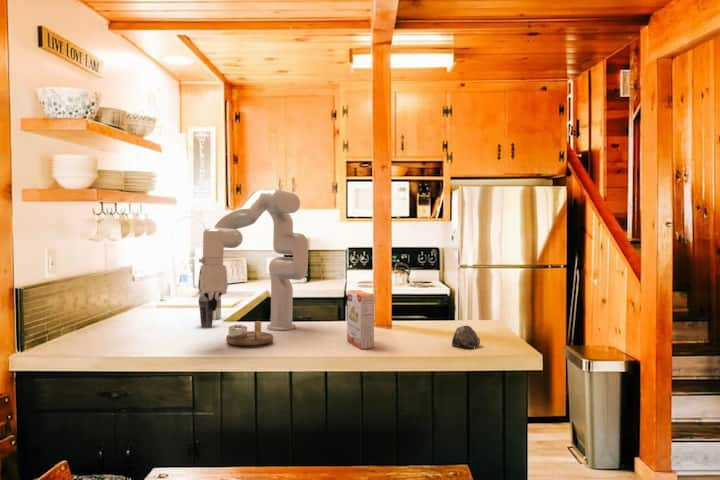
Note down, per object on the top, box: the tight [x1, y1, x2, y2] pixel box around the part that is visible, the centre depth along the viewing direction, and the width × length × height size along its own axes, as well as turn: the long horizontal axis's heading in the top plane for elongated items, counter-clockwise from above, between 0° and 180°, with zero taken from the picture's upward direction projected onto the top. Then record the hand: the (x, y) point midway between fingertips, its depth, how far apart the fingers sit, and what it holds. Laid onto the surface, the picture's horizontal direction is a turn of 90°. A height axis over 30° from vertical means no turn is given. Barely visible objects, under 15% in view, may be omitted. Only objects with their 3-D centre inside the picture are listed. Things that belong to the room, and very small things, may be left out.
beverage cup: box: [198, 292, 214, 329], centre depth 258 cm, size 7×7×20 cm
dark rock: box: [451, 325, 481, 349], centre depth 230 cm, size 11×9×10 cm
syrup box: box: [211, 292, 222, 321], centre depth 278 cm, size 6×6×14 cm
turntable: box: [226, 320, 274, 346], centre depth 229 cm, size 18×18×8 cm
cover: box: [228, 324, 248, 339], centre depth 226 cm, size 7×7×5 cm
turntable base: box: [238, 344, 263, 347], centre depth 229 cm, size 11×11×1 cm
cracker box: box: [346, 289, 375, 350], centre depth 228 cm, size 14×6×21 cm, turn 23°
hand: (212, 310), depth 219 cm, fingers closed
